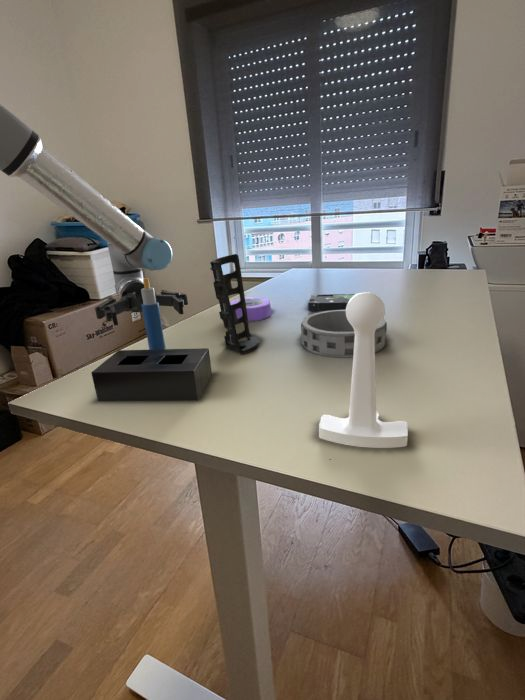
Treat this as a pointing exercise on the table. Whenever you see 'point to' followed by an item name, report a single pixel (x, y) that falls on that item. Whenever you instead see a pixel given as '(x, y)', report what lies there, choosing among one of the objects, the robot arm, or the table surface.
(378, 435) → the joystick
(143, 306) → the soldering iron
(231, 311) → the holder
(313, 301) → the disk drive
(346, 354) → the ring
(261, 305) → the tape roll
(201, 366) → the two-slot black box
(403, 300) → the table surface
